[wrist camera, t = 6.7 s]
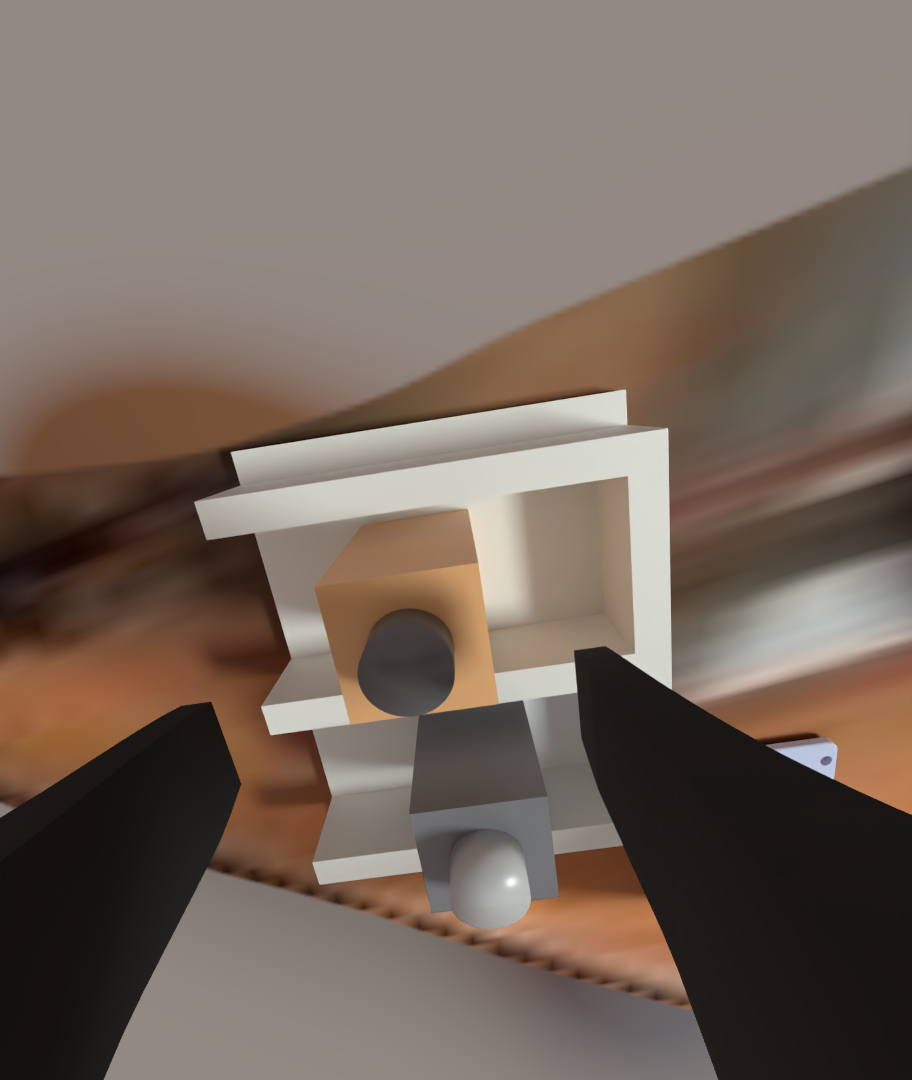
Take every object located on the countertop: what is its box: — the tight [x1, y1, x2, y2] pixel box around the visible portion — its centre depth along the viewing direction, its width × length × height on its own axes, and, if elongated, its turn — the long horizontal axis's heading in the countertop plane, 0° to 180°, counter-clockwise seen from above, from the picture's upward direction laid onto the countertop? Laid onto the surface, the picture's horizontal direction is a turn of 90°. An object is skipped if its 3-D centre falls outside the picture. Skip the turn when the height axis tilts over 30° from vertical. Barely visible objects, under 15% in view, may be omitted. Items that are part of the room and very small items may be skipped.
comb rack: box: [194, 390, 672, 885], centre depth 17 cm, size 18×14×4 cm
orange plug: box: [314, 509, 499, 725], centre depth 13 cm, size 4×4×7 cm
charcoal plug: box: [409, 700, 559, 929], centre depth 15 cm, size 4×4×7 cm
